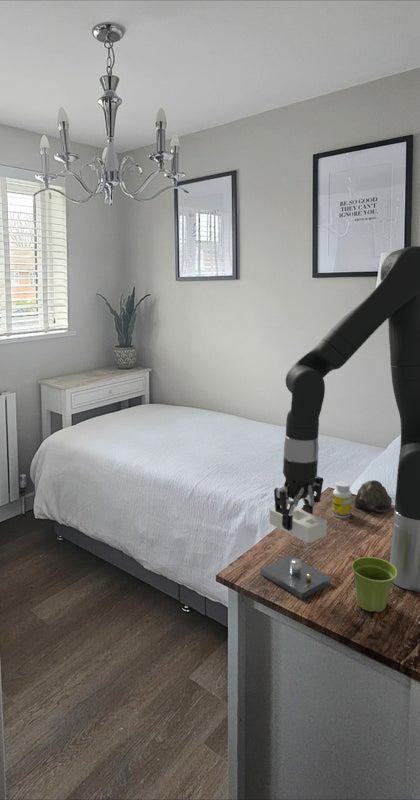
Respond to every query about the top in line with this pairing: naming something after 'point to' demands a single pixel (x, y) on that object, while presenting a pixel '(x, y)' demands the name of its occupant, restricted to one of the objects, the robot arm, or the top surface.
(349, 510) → the supplement bottle
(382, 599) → the plant pot
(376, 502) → the fossil
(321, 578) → the base plate
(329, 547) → the top surface
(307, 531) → the white block with recesses
